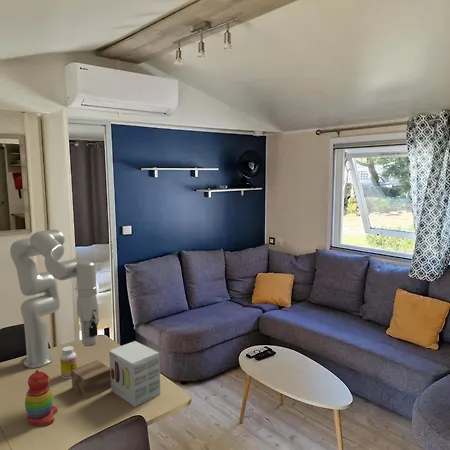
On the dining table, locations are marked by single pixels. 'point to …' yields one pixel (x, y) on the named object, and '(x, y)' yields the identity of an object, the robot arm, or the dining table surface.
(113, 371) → the supplement box
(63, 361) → the supplement bottle
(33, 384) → the stacking bear
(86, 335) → the energy drink can
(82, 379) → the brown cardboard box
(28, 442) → the dining table surface
